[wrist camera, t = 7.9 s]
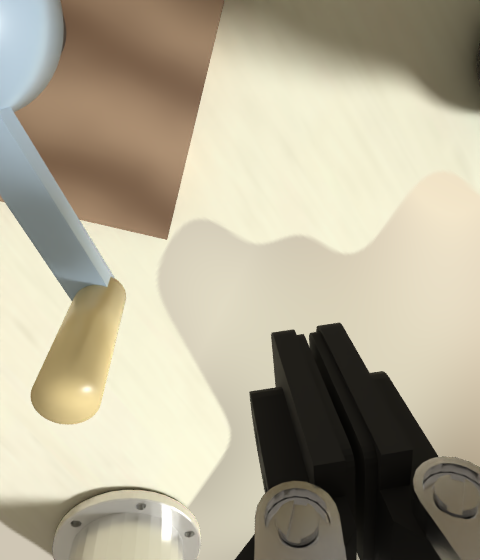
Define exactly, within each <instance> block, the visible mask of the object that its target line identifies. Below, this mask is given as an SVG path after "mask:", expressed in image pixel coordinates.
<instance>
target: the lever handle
mask: <svg viewBox="0 0 480 560" xmlns="http://www.w3.org/2000/svg"><path fill="white" fill-rule="evenodd" d="M63 33H64V23H63V11H62V6H61V1H60V0H0V196H1V197H2V199H3V200H4V202H5V203H6V204H7V206H8V207H9V209H10V210H11V212H12V213H13V215H14V216H15V218H16V219H17V221H18V222H19V224H20V225H21V227H22V228H23V230H24V231H25V233H26V234H27V235H28V237H29V238H30V240H31V241H32V243H33V244H34V246H35V247H36V249H37V250H38V252H39V253H40V255H41V256H42V258H43V259H44V261H45V262H46V264H47V265H48V267H49V268H50V269H51V271H52V272H53V274H54V275H55V277H56V278H57V280H58V281H59V283H60V284H61V286H62V287H63V289H64V290H65V292H66V293H67V295H68V296H69V298H70V299H71V300H72V303H71V305H70V307H69V309H68V312H67V314H66V316H65V318H64V320H63V322H62V325H61V327H60V329H59V331H58V333H57V335H56V338H55V340H54V342H53V344H52V346H51V348H50V351H49V353H48V355H47V357H46V359H45V361H44V364H43V366H42V368H41V370H40V372H39V374H38V377H37V379H36V381H35V383H34V385H33V387H32V390H31V401H32V404H33V406H34V408H35V409H36V411H37V412H38V413H39V414H40V415H41V416H43V417H44V418H46V419H48V420H50V421H52V422H55V423H59V424H77V423H81V422H84V421H86V420H88V419H90V418H91V417H92V416H94V415H95V413H96V412H97V411H98V409H99V407H100V404H101V400H102V396H103V392H104V388H105V384H106V379H107V375H108V371H109V367H110V363H111V359H112V355H113V350H114V346H115V342H116V338H117V334H118V330H119V325H120V321H121V317H122V313H123V309H124V305H125V300H126V293H125V290H124V288H123V286H122V285H121V283H120V282H119V281H117V280H116V279H115V278H114V276H113V274H112V273H111V271H110V269H109V268H108V266H107V264H106V263H105V261H104V259H103V258H102V256H101V255H100V253H99V251H98V250H97V248H96V246H95V245H94V243H93V241H92V240H91V238H90V237H89V235H88V233H87V232H86V230H85V228H84V227H83V225H82V223H81V222H80V220H79V218H78V217H77V215H76V214H75V212H74V210H73V209H72V207H71V205H70V204H69V202H68V200H67V199H66V197H65V196H64V194H63V192H62V191H61V189H60V187H59V186H58V184H57V182H56V181H55V179H54V177H53V176H52V174H51V173H50V171H49V169H48V168H47V166H46V164H45V163H44V161H43V159H42V158H41V156H40V155H39V153H38V151H37V150H36V148H35V146H34V145H33V143H32V141H31V140H30V138H29V136H28V135H27V133H26V132H25V130H24V128H23V127H22V125H21V123H20V122H19V120H18V118H17V117H16V115H15V114H14V112H16V111H18V110H20V109H21V108H23V107H25V106H27V105H28V104H29V103H31V102H32V101H33V100H34V99H36V98H37V97H38V96H39V94H40V93H41V92H42V91H43V90H44V89H45V88H46V86H47V85H48V83H49V82H50V80H51V79H52V77H53V75H54V72H55V70H56V68H57V66H58V62H59V59H60V56H61V51H62V45H63Z"/></svg>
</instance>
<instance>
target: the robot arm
mask: <svg viewBox="0 0 480 560" xmlns="http://www.w3.org/2000/svg"><path fill="white" fill-rule="evenodd" d="M271 339H272V349H273V361H274V373H275V384H276V388H270V389H264V390H257V391H251V392H250V402H251V410H252V418H253V425H254V432H255V438H256V445H257V451H258V456H259V462H260V468H261V473H262V479H263V484H264V490H265V494H264V495H263V497H262V498H261V500H260V502H259V504H258V505H257V510H256V515H255V534H254V535H253V537H252V538H251V539H250V541H249V542H248V543H247V545H246V546H245V547H244V548H243V550H242V551H241V552H240V554H239V555H238V556H237V558H236V559H235V560H356V555H357V553H358V556H359V558H360V560H480V467H478V466H477V465H475V464H473V463H471V462H469V461H466V460H463V459H459V458H456V457H444V456H442V457H438V455H437V454H436V452H435V450H434V449H433V447H432V445H431V444H430V442H429V441H428V439H427V437H426V436H425V434H424V433H423V431H422V429H421V428H420V427H419V425H418V423H417V421H416V420H415V418H414V417H413V415H412V413H411V412H410V410H409V409H408V407H407V405H406V404H405V402H404V401H403V399H402V397H401V396H400V394H399V393H398V391H397V389H396V388H395V386H394V385H393V383H392V381H391V380H390V378H389V377H388V375H387V374H386V373H385V372H383V371H381V372H374V373H369V371H368V370H367V368H366V366H365V364H364V362H363V361H362V359H361V358H360V355H359V354H358V352H357V350H356V348H355V347H354V345H353V343H352V341H351V340H350V338H349V337H348V334H347V333H346V331H345V329H344V328H343V326H342V324H341V323H334V324H327V325H321V326H317V330H316V332H314V333H310V335H309V342H310V348H309V345H308V343H307V340H306V338H305V336H304V334H301V335H296V332H295V330H287V331H280V332H273V333H272V334H271ZM200 548H201V533H200V528H199V524H198V522H197V520H196V518H195V516H194V515H193V514H192V513H191V512H190V510H189V509H188V508H187V507H185V506H184V505H182V504H181V503H180V502H178V501H176V500H174V499H172V498H170V497H168V496H166V495H162V494H159V493H155V492H150V491H144V490H120V491H112V492H108V493H104V494H100V495H97V496H94V497H92V498H90V499H87V500H85V501H83V502H81V503H80V504H78V505H77V506H75V507H74V508H72V509H71V510H70V511H69V512H68V513H67V514H66V515H65V516H64V517H63V519H62V520H61V522H60V523H59V525H58V527H57V530H56V533H55V536H54V541H53V546H52V551H53V558H54V560H196V559H197V558H198V556H199V552H200Z"/></svg>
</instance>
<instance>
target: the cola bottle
mask: <svg viewBox="0 0 480 560" xmlns="http://www.w3.org/2000/svg"><path fill="white" fill-rule="evenodd" d="M477 75H478V80H479V84H480V43H479V48H478V54H477Z"/></svg>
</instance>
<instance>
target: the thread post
mask: <svg viewBox="0 0 480 560" xmlns="http://www.w3.org/2000/svg"><path fill="white" fill-rule="evenodd" d="M60 1H61V6H62V11H63V23H64V33H63V45H62V51H61V56H60V59H59V62H58V66H57V68H56V70H55V72H54V75H53V77H52V79H51V80H50V82H49V83H48V85H47V86H46V88H45V89H44V90H43V91H42V92H41V93H40V94H39V96H38V97H37V98H36V99H34V100H33V101H32V102H31V103H29V104H28V105H27V106H25V107H23V108H21V109H20V110H18V111H16V112H14V114H15V115H16V117H17V118H18V120H19V122H20V123H21V125H22V127H23V128H24V130H25V132H26V133H27V135H28V136H29V138H30V140H31V141H32V143H33V145H34V146H35V148H36V150H37V151H38V153H39V155H40V156H41V158H42V159H43V161H44V163H45V164H46V166H47V168H48V169H49V171H50V173H51V174H52V176H53V177H54V179H55V181H56V182H57V184H58V186H59V187H60V189H61V191H62V192H63V194H64V196H65V197H66V199H67V200H68V202H69V204H70V205H71V207H72V209H73V210H74V212H75V214H76V215H77V217H78V218H79V220H84V221H88V222H92V223H97V224H101V225H105V226H110V227H114V228H118V229H123V230H127V231H131V232H136V233H140V234H144V235H149V236H153V237H157V238H162V239H166V240H167V238H168V234H169V229H170V225H171V221H172V217H173V213H174V209H175V204H176V200H177V196H178V192H179V188H180V184H181V179H182V175H183V171H184V167H185V163H186V158H187V154H188V150H189V146H190V142H191V138H192V133H193V129H194V125H195V121H196V117H197V113H198V108H199V104H200V100H201V96H202V92H203V88H204V83H205V79H206V75H207V71H208V67H209V63H210V58H211V54H212V50H213V46H214V42H215V37H216V33H217V29H218V25H219V21H220V17H221V12H222V8H223V4H224V0H60ZM0 201H1V202H4V200H3V199H2V197H1V196H0Z"/></svg>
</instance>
